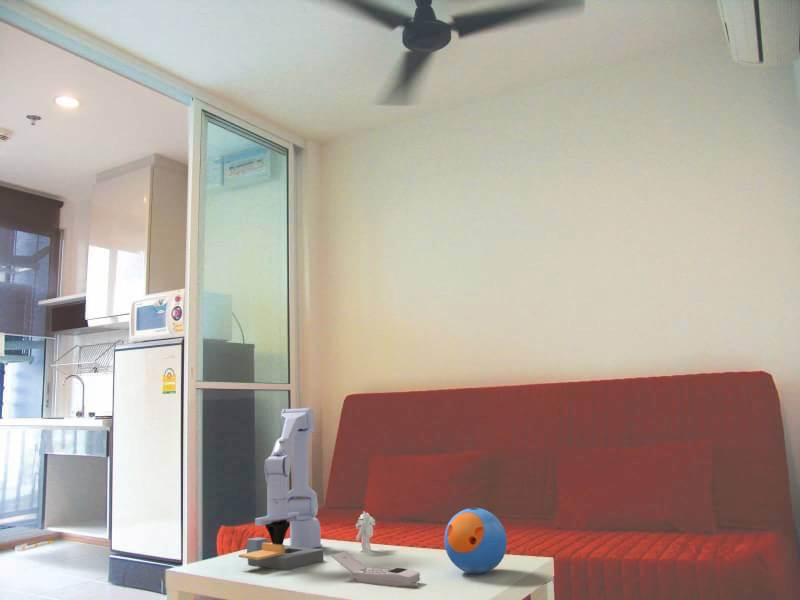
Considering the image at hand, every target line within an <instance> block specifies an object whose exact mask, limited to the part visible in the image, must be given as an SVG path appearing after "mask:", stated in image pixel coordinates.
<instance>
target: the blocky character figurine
mask: <svg viewBox="0 0 800 600" xmlns="http://www.w3.org/2000/svg"><path fill="white" fill-rule="evenodd" d="M373 526H374V527H375V526H376V519H374V517H372V515H370V514H369V512H366V511H364V510H363V512H362V514H360V516H359V517H358V520H357V522H356V523H355V528H356V529H357V530H359V531H358V534H357V536H356V537H355V540H356V542H359V541H360V539H361V549H359V553H368V552H369V551H372V547H371V543H370V538H372V537H373V536H374V534H373V533H374V527H373Z"/></svg>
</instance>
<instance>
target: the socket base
mask: <svg viewBox="0 0 800 600" xmlns="http://www.w3.org/2000/svg"><path fill="white" fill-rule="evenodd" d="M284 545H285V554H283V555H278V556H274V557H270V558H265V559H261V560H255V559H248V558H247V565H248V564H249V565H250V566H255V565H258V566H257V567H261V566H264V567H263V568H268V567H270V568H269V569H275V570H284V571H288V570H293V569H296V567H297V568H300V567H305V566H308V565H312V564H315V563H320V562H324V549H321V548H305V547H297V546H290V545H286V544H284Z"/></svg>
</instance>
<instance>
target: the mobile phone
mask: <svg viewBox="0 0 800 600" xmlns="http://www.w3.org/2000/svg"><path fill="white" fill-rule="evenodd" d="M331 558H333V559H334V560H335V561H337V562H338V563H339V564H340V565H341V566H343V567H344V568H346V569H347V570H348V571H349V572H350V573H352V574H353V575H354V576H355V580H356V582H357V583H364V584H371V585H382V586H390V587H397V588H398V587H399V588H402V587H409V588H419V587H420V584H419V582H420V580H421V578H420V576H421V573H420V571H417V570H414V569H409V568H404V567H395V568H378V567H366V566H365V565H364V564H363V563H361V562H360V561H359V560H357V559H356V557H354V556H353V555H352V554H351V553H349V552H348V551H342V552H339V553H336V554H333V555H331Z"/></svg>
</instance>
